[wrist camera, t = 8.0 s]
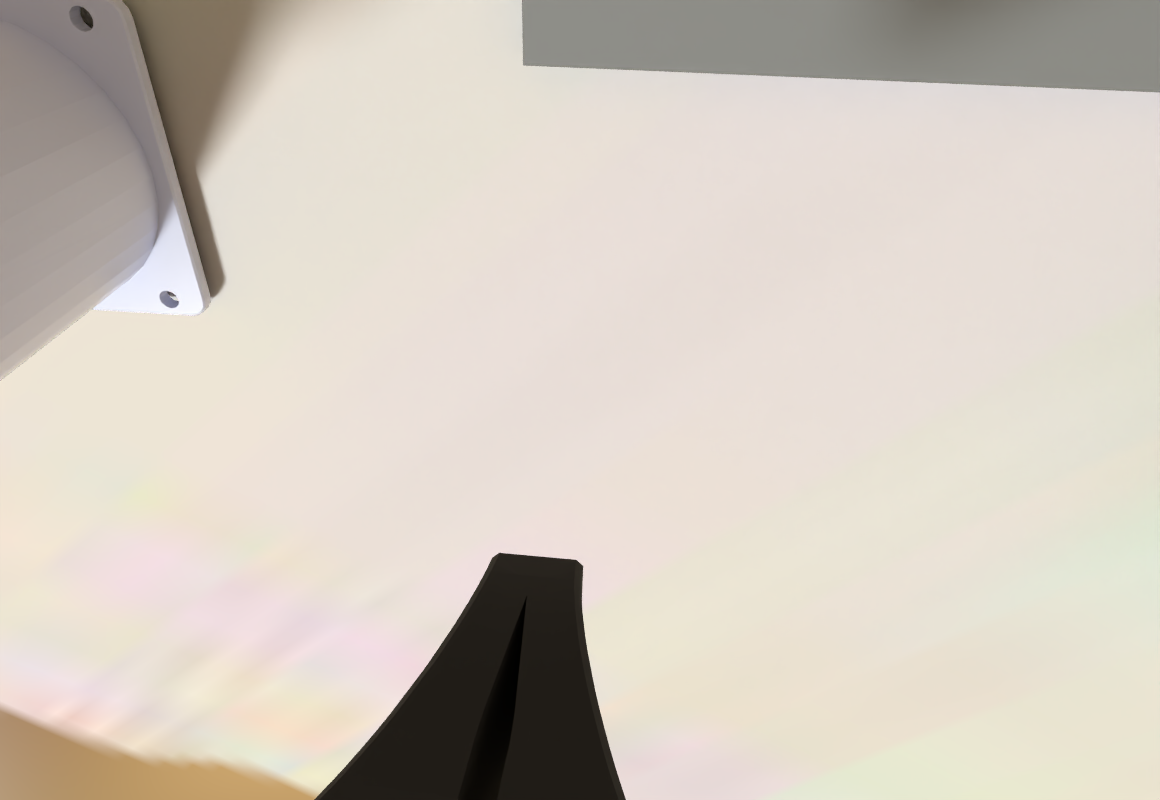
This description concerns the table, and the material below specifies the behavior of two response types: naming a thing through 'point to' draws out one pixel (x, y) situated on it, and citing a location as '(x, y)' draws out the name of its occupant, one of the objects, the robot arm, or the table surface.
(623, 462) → the table surface
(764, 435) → the table surface
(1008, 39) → the mat
